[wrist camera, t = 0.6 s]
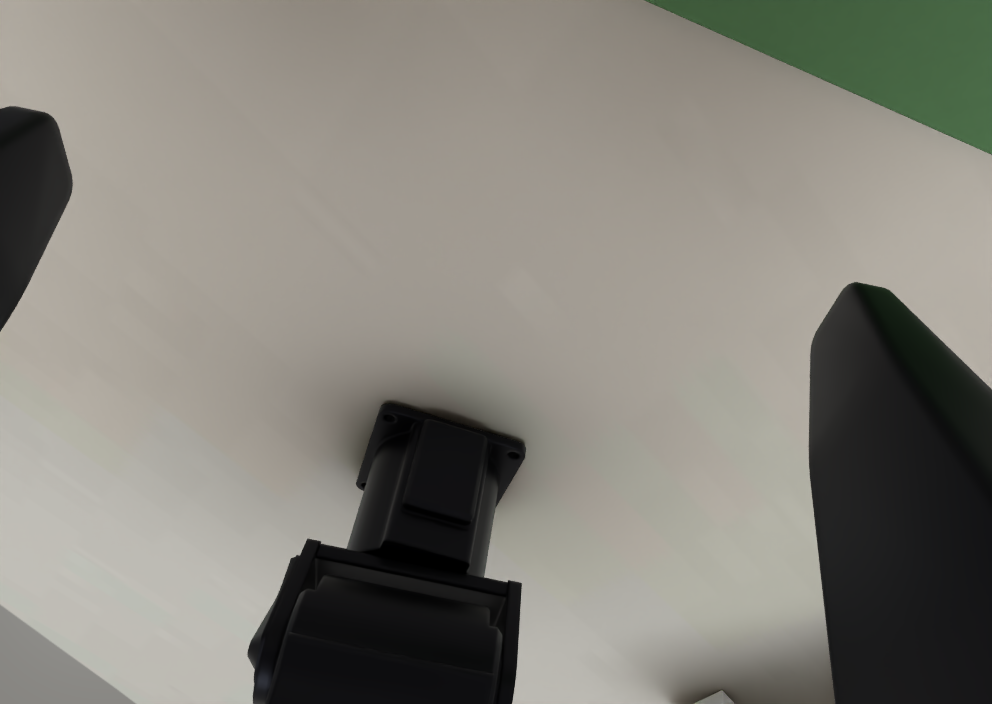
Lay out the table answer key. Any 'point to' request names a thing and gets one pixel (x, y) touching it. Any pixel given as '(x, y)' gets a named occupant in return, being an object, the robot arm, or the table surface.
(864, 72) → the green cloth
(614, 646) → the table surface
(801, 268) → the table surface
